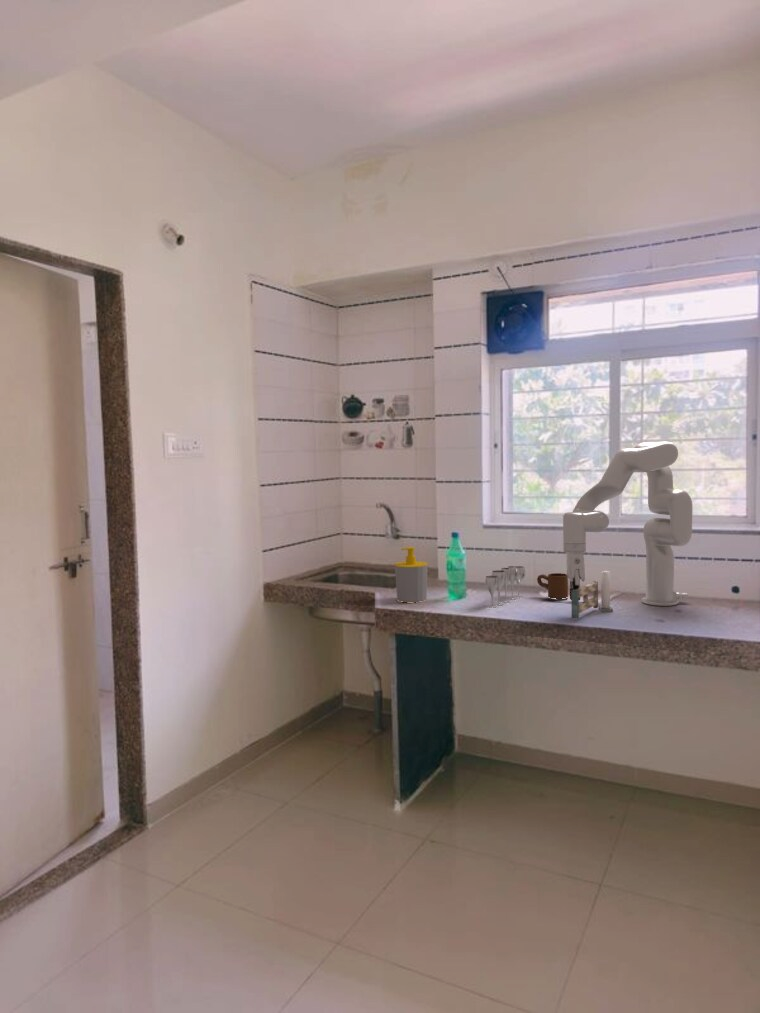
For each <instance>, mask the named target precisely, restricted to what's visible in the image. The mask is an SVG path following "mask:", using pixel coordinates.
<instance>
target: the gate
mask: <svg viewBox="0 0 760 1013" xmlns="http://www.w3.org/2000/svg"><path fill="white" fill-rule="evenodd" d="M592 592H593V594H592V595H593V596H592V597H591V598H589V594H591V593H592ZM579 597H580V598H581V597H582V598H583V599H582V602H580V600H579ZM570 601H571V604H570V605H571V619H575V620H578V619H579V618H580V613H582V612H585V611H587V610H589V609H590V608H592V607H593V609H599V581H598V580H594V581H593V582H591V583H588V584H585V585H584V586H580V588H578V589H576V590H571V599H570Z"/></svg>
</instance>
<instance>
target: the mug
mask: <svg viewBox="0 0 760 1013" xmlns="http://www.w3.org/2000/svg"><path fill="white" fill-rule="evenodd" d="M542 579H544V580H546V581H547V583H546V582H543V581H542ZM536 580H537V584H538V585H539V586H540V587H542V588H545V589H546V590H547V597H550V598H556V599H562V598H566V597H568V598H569V578H568V577H567V573H563V572H562V573H561V572H560V573H559V572H557V573H555V572H554V573H548V575H546V574H539V575H538V576H537V578H536Z"/></svg>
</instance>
